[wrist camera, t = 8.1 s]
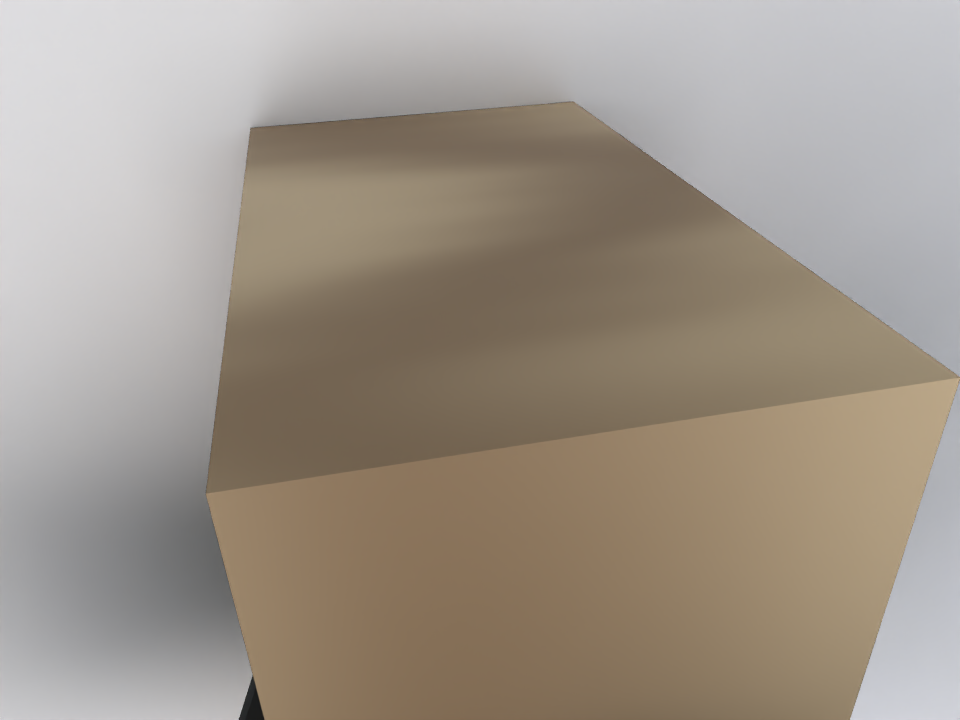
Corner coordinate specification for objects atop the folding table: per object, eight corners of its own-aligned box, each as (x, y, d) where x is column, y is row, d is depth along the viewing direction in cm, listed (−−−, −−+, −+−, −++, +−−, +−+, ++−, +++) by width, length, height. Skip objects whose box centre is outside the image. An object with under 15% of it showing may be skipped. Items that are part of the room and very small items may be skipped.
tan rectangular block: (573, 101, 9) (960, 376, 4) (554, 759, 15) (694, 1200, 10) (249, 127, 8) (207, 492, 3) (366, 800, 14) (413, 1292, 9)
